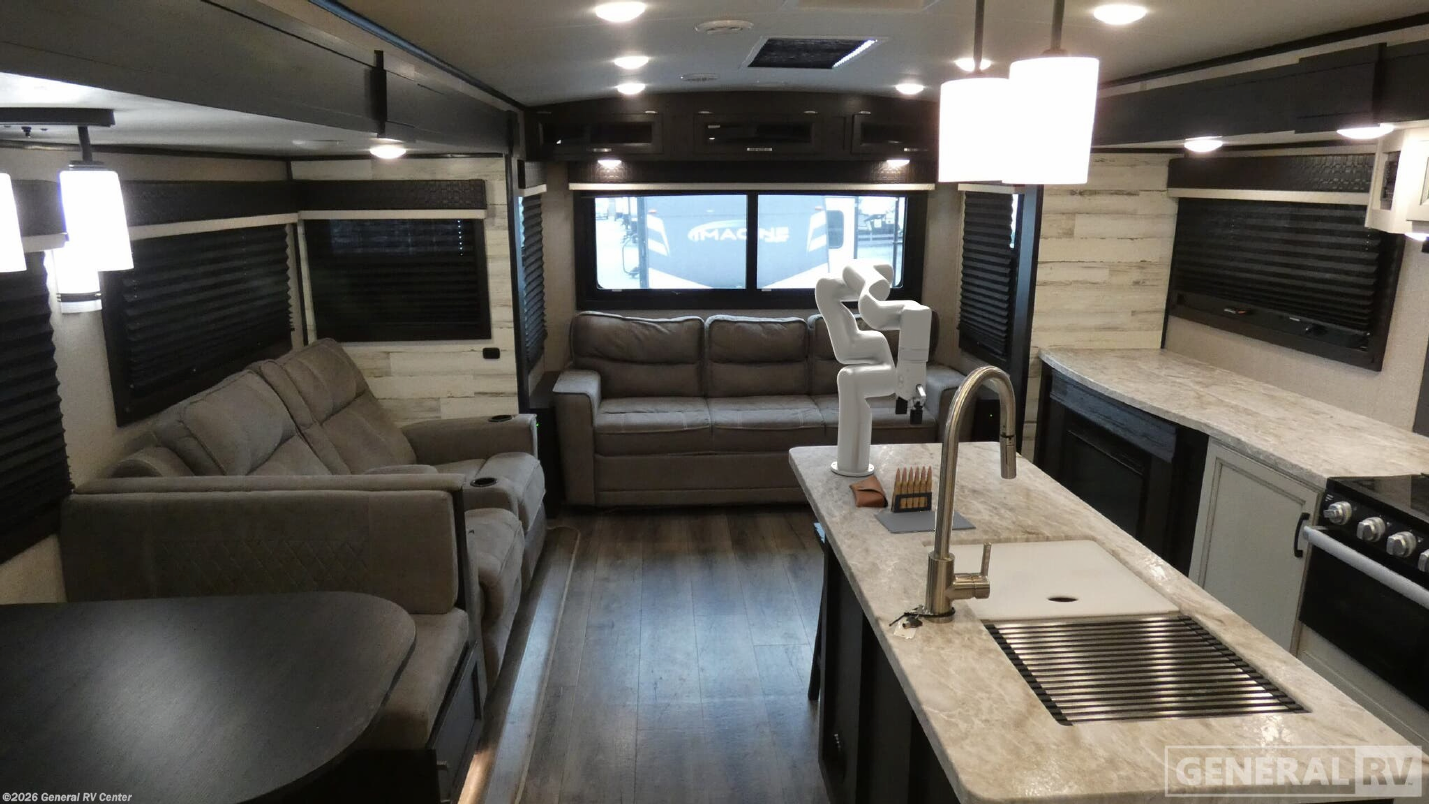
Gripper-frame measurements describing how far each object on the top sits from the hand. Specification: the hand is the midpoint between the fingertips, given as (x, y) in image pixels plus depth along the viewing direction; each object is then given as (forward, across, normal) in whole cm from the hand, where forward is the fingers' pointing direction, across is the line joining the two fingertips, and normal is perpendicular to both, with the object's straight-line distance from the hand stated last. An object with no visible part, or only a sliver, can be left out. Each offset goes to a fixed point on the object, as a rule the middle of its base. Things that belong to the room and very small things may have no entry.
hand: (908, 419), depth 232 cm
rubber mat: (+23, +14, 0) cm, 27 cm away
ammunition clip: (+23, +6, 0) cm, 24 cm away
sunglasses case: (+24, -6, -7) cm, 26 cm away
